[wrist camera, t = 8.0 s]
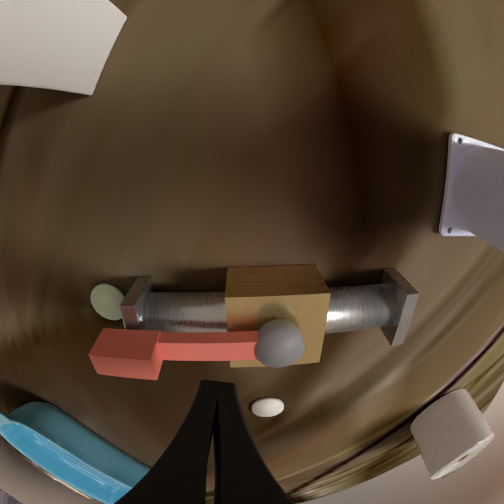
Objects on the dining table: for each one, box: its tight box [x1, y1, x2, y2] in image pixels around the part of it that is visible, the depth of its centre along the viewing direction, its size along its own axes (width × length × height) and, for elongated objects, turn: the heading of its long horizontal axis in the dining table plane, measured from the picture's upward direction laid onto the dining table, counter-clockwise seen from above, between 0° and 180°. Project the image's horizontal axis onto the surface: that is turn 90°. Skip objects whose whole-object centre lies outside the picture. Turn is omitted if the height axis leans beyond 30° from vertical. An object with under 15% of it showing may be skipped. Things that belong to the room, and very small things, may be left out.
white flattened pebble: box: [252, 397, 284, 417], centre depth 25 cm, size 3×3×1 cm
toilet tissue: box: [410, 389, 494, 479], centre depth 26 cm, size 11×12×10 cm
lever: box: [89, 319, 304, 380], centre depth 15 cm, size 12×3×3 cm, turn 91°
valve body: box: [120, 264, 419, 367], centre depth 19 cm, size 20×6×4 cm, turn 91°
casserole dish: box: [0, 402, 151, 504], centre depth 29 cm, size 37×22×7 cm, turn 33°
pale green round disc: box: [91, 283, 125, 320], centre depth 20 cm, size 3×3×1 cm
